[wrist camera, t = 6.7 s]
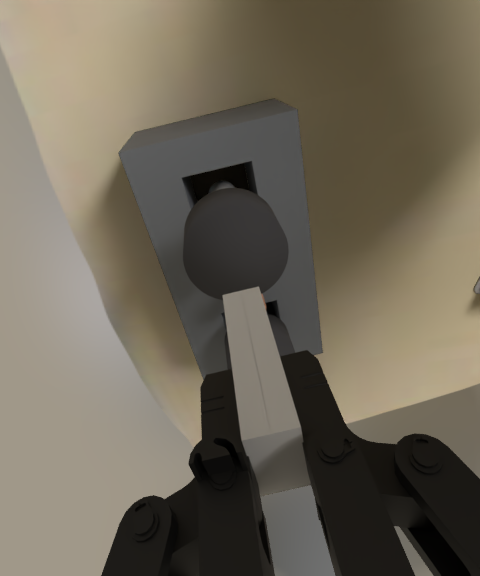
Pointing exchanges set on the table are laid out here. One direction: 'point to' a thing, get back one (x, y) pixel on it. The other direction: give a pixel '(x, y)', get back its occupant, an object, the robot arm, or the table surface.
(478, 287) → the emergency button
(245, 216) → the knob
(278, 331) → the knob
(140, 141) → the mount
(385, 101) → the table surface
